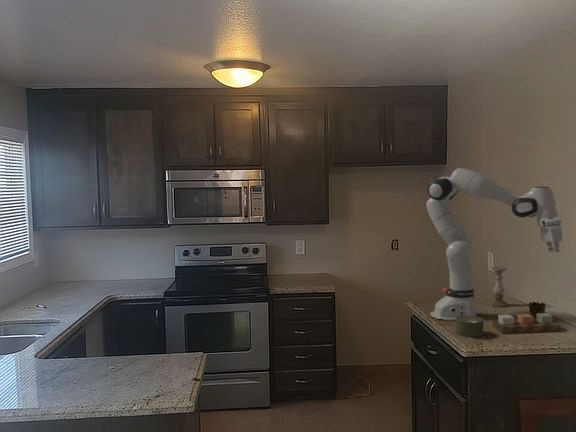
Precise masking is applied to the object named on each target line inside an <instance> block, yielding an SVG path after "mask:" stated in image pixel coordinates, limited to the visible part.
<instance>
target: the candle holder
mask: <svg viewBox="0 0 576 432" xmlns="http://www.w3.org/2000/svg"><path fill="white" fill-rule="evenodd" d="M490 270H491V271H493V272H494V273H495V277H494V278H495V284H494V285H495V286H494V287H493V294H494V295H493V296H494V298H495V299H494V300H491V302H490V306H492V307H497V308H504V307H505V308H506V307H508V306H509V304H508V302H506V301H505V300H503V298H504V295H503V294H505V288H504V286H503V282H502V279H503V276H502V275H503V273H504V272H506V271H507V268H506V267H501V266H495V267H492V268H490Z"/></svg>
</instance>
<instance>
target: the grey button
mask: <svg viewBox="0 0 576 432" xmlns="http://www.w3.org/2000/svg"><path fill="white" fill-rule="evenodd" d="M497 318H498V319H497V320H498V323H500V324H502V325H514V319H515V316H512V315H510V314H498V317H497Z"/></svg>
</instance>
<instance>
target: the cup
mask: <svg viewBox="0 0 576 432" xmlns="http://www.w3.org/2000/svg"><path fill="white" fill-rule="evenodd" d="M528 308H529V313H530V315H531V316H533V318H537V313H546V303H545V302H541V303H539V301H537V302H536V301H533V302H532V301H531V302H528Z"/></svg>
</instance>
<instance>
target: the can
mask: <svg viewBox="0 0 576 432" xmlns="http://www.w3.org/2000/svg"><path fill="white" fill-rule="evenodd" d="M484 322H485V321H484V318H482V317H479V316H477V315H476V316H459V317H457V318H456V320H455V325H456V326H455V328H456V329H455V331H456V332H455V333H457V334H458V335H457V334H456V335H457V336H459V335H461V336H460V337H462V336H465V337H464V338H467V337H478V338H481V336H482V337H483V336H484Z"/></svg>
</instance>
